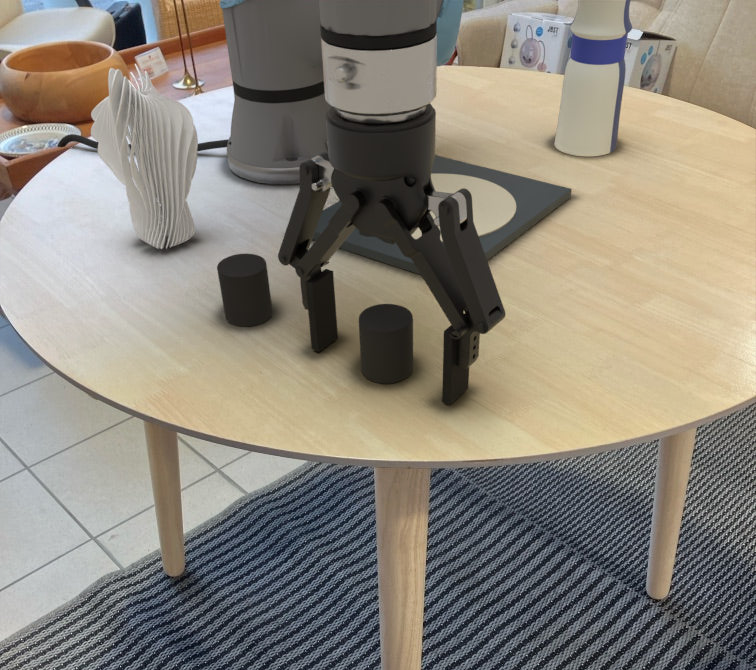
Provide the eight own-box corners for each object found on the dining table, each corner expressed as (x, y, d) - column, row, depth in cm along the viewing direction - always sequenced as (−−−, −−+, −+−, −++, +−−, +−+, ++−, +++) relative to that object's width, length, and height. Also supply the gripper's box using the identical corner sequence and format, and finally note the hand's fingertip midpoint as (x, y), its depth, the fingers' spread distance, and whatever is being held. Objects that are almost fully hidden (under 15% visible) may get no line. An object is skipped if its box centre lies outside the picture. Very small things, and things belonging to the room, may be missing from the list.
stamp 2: (350, 372, 72) (347, 321, 69) (381, 349, 75) (380, 297, 71) (392, 390, 70) (391, 337, 67) (423, 365, 73) (423, 313, 69)
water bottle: (560, 128, 112) (586, -105, 95) (626, 137, 109) (665, -102, 92) (540, 150, 106) (564, -92, 89) (608, 160, 103) (646, -88, 86)
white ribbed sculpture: (174, 216, 96) (138, 39, 83) (218, 239, 91) (187, 55, 79) (109, 242, 91) (62, 59, 79) (153, 267, 87) (110, 77, 75)
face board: (297, 234, 91) (295, 222, 91) (424, 160, 105) (424, 149, 104) (454, 285, 82) (454, 273, 82) (570, 197, 96) (572, 186, 95)
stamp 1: (215, 317, 79) (206, 268, 76) (247, 297, 82) (240, 248, 79) (250, 331, 77) (242, 281, 74) (282, 310, 80) (276, 261, 77)
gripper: (209, 88, 61) (248, 343, 76) (513, 160, 50) (491, 444, 64) (279, 61, 66) (303, 307, 80) (573, 122, 54) (539, 395, 69)
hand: (387, 368), depth 72 cm, fingers open, 13 cm apart
